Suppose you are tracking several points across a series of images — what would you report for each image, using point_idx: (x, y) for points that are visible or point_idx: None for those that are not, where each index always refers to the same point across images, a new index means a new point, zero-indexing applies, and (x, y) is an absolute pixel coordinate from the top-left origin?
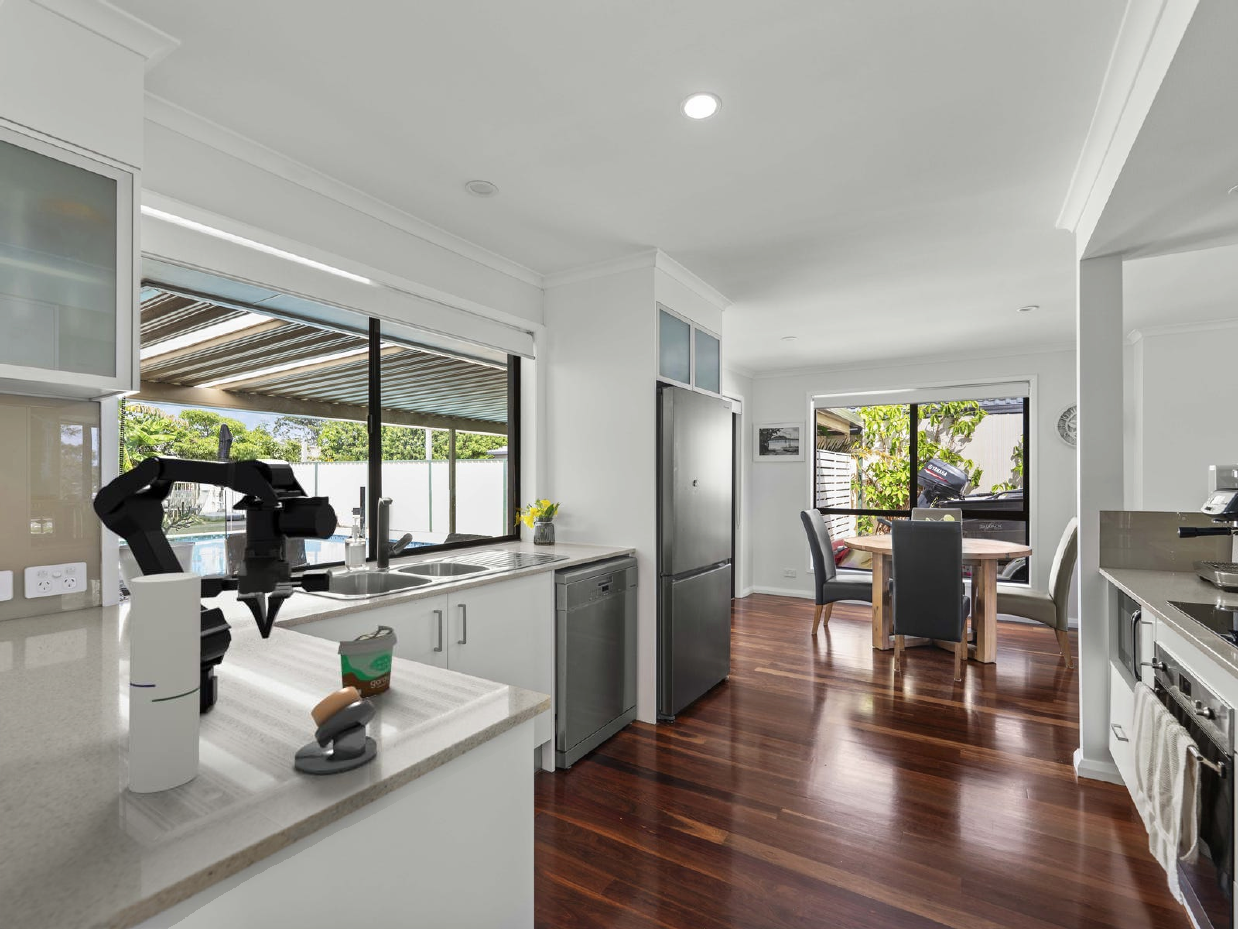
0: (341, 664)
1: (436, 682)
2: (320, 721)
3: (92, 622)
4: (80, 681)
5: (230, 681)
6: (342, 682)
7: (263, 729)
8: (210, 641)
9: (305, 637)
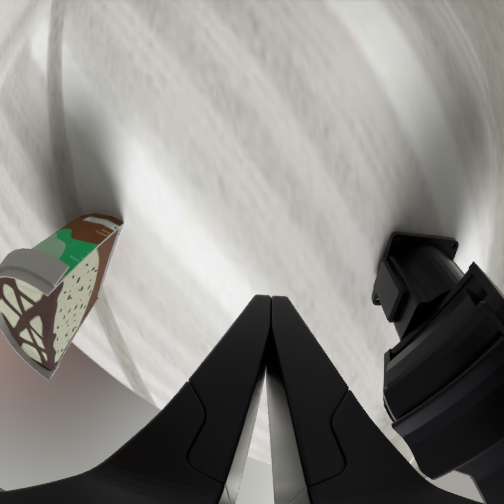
0: (83, 258)
1: None
2: None
3: None
4: None
5: (344, 375)
6: (105, 236)
7: (262, 83)
8: (456, 353)
9: (254, 457)
